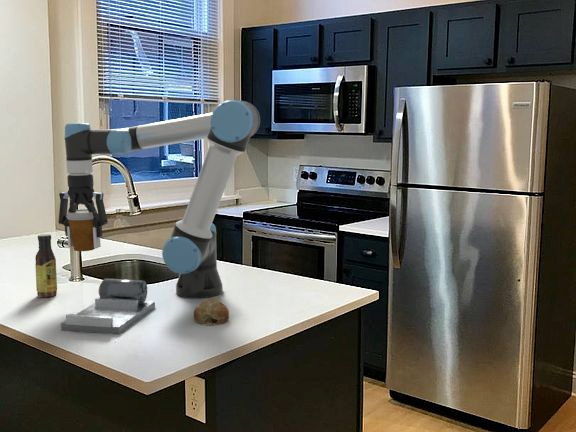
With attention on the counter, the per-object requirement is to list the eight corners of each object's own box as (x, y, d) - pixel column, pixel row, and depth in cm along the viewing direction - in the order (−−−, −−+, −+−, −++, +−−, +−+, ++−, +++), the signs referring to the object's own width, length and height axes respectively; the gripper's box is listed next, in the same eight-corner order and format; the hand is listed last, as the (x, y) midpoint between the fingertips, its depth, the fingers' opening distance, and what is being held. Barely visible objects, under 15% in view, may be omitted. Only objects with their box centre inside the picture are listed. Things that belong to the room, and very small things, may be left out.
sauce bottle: (50, 298, 207) (46, 237, 203) (33, 297, 208) (28, 236, 205) (61, 293, 213) (58, 233, 210) (44, 292, 214) (40, 232, 211)
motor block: (155, 307, 197) (154, 278, 196) (118, 335, 173) (116, 302, 171) (103, 304, 201) (102, 275, 199) (59, 331, 176) (57, 298, 175)
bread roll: (195, 337, 182) (196, 316, 177) (190, 312, 190) (191, 291, 185) (230, 334, 184) (232, 313, 180) (224, 309, 192) (225, 288, 188)
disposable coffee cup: (99, 245, 208) (97, 208, 207) (101, 251, 200) (99, 212, 198) (68, 247, 205) (65, 210, 203) (68, 253, 196) (66, 214, 194)
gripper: (117, 173, 200) (121, 245, 204) (56, 172, 205) (60, 243, 208) (105, 175, 193) (109, 250, 196) (42, 174, 197) (47, 248, 201)
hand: (84, 246), depth 202 cm, fingers closed on disposable coffee cup, 8 cm apart
